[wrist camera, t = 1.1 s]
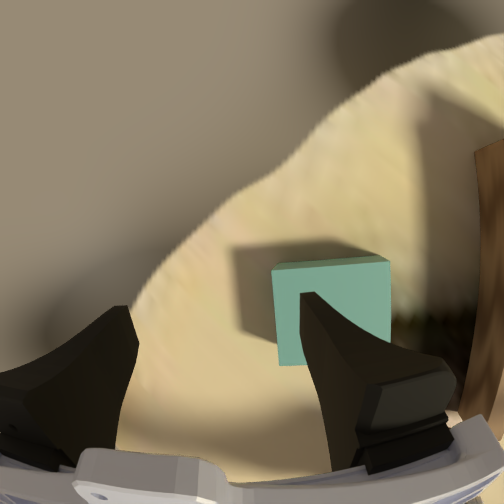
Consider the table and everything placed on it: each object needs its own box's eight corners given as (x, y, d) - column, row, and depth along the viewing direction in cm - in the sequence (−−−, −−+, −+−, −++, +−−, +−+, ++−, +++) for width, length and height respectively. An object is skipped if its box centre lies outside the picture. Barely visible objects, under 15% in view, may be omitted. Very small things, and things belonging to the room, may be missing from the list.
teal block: (380, 338, 24) (389, 358, 20) (285, 345, 26) (279, 365, 22) (378, 254, 23) (389, 261, 19) (278, 262, 25) (271, 270, 21)
